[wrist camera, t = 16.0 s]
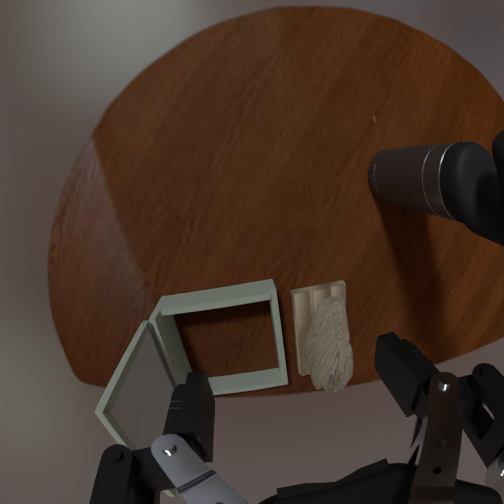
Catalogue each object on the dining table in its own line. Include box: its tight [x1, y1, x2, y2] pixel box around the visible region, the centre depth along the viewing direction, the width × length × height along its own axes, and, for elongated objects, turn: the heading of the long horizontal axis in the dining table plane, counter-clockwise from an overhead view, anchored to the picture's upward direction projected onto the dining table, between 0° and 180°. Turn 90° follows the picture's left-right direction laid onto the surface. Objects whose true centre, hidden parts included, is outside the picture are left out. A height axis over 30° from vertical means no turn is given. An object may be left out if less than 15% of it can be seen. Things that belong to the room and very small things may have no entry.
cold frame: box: [95, 279, 288, 497], centre depth 32 cm, size 19×19×25 cm
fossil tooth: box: [304, 296, 353, 392], centre depth 38 cm, size 12×6×15 cm
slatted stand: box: [290, 280, 346, 376], centre depth 44 cm, size 9×17×2 cm, turn 9°
